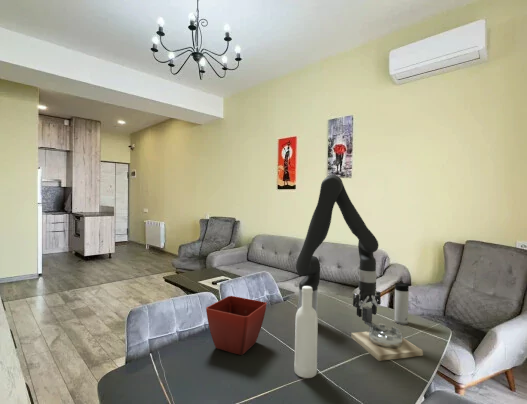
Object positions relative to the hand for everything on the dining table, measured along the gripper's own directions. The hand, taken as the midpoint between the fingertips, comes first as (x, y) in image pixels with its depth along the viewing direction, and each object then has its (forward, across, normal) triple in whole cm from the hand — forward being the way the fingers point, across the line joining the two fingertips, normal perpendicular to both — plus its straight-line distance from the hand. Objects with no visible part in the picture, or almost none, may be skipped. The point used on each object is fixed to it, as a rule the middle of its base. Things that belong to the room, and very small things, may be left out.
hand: (366, 315), depth 135 cm
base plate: (+9, 0, -11) cm, 14 cm away
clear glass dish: (+7, 0, -8) cm, 10 cm away
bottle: (+9, -42, -15) cm, 46 cm away
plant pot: (+9, -58, +12) cm, 60 cm away
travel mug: (+9, +28, +5) cm, 30 cm away
